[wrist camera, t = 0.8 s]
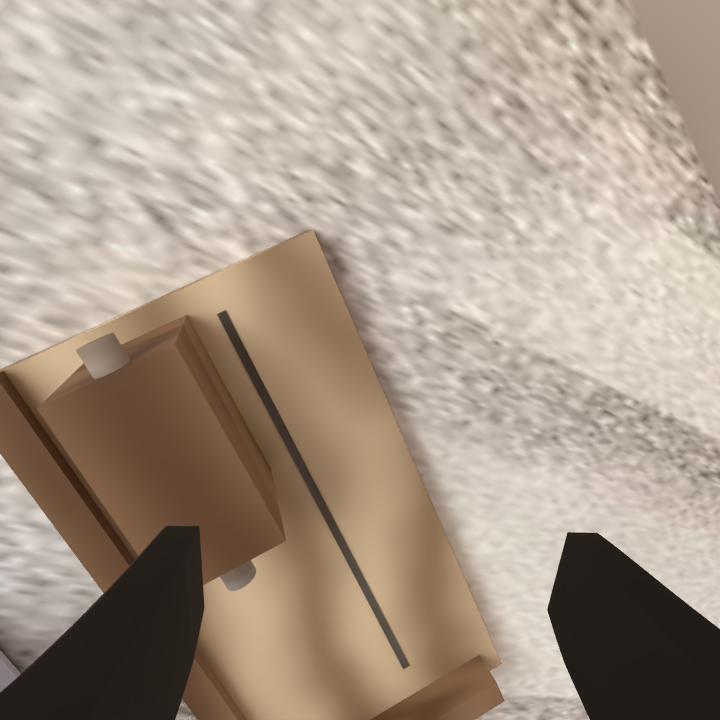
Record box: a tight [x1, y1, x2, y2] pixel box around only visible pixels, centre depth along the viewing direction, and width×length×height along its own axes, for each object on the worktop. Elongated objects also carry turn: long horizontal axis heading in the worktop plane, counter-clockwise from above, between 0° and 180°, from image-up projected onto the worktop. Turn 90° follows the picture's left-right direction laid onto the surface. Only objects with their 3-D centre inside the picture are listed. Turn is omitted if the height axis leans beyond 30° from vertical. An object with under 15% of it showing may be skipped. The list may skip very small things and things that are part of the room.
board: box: [0, 230, 504, 720], centre depth 25 cm, size 15×27×3 cm, turn 23°
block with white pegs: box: [37, 315, 286, 591], centre depth 20 cm, size 4×10×6 cm, turn 23°
